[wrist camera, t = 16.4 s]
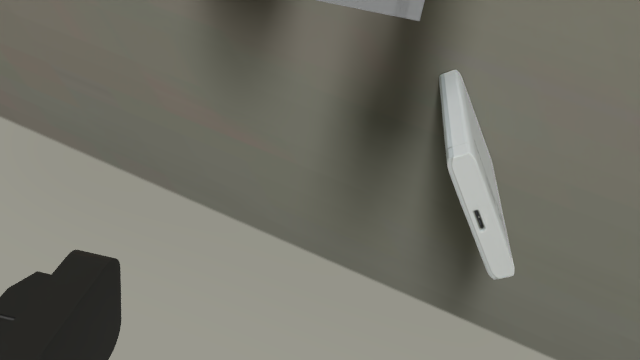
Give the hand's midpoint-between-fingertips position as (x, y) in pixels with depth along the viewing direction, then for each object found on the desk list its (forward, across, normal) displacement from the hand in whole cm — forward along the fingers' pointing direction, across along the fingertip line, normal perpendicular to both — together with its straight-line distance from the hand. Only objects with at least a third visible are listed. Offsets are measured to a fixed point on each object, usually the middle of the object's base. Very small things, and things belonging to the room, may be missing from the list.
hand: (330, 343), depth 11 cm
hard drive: (+32, -7, +9) cm, 34 cm away
